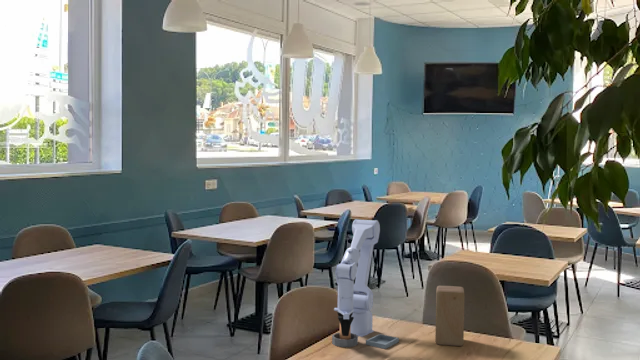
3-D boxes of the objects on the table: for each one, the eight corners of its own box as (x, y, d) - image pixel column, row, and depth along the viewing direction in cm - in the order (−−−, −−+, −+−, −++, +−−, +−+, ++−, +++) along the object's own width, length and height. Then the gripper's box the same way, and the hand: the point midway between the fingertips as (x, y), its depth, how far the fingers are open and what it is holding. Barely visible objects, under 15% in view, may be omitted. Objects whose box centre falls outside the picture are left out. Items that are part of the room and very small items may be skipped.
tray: (379, 339, 229) (379, 333, 229) (398, 343, 224) (398, 337, 224) (365, 345, 221) (365, 340, 221) (385, 350, 216) (385, 344, 216)
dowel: (343, 340, 225) (343, 319, 225) (352, 342, 223) (352, 320, 222) (337, 343, 222) (337, 321, 221) (346, 345, 219) (346, 323, 219)
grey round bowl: (341, 338, 229) (341, 330, 229) (362, 343, 223) (362, 335, 223) (327, 345, 221) (327, 336, 221) (348, 350, 216) (348, 341, 216)
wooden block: (463, 347, 221) (464, 292, 220) (435, 345, 223) (436, 290, 222) (462, 338, 230) (463, 286, 229) (435, 336, 232) (436, 284, 231)
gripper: (333, 291, 229) (333, 327, 229) (335, 301, 214) (334, 339, 215) (352, 292, 229) (352, 327, 229) (355, 301, 214) (354, 339, 215)
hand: (345, 333), depth 222 cm, fingers closed on dowel, 4 cm apart
